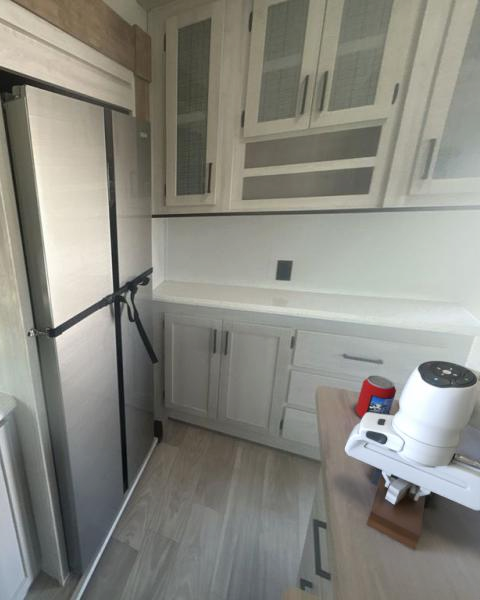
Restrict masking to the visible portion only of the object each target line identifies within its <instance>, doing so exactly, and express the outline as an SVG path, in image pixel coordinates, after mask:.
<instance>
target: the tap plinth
mask: <svg viewBox="0 0 480 600" xmlns="http://www.w3.org/2000/svg"><path fill="white" fill-rule="evenodd" d="M385 483H386V480H385V478H384V477H382V476H380V478H379V481H378V484H377V485H376V487H375V490H374V494H373V498H372V502H371V506H370V508H369V509H370V510H369V512H368V513H369V514H368V518H367V521H366V525H367V526H369V527H370V528H372V529H374V530H376V531H378V532H380V533H381V534H384V535H386V536H387V537H389V538H392V539H393V540H395V541H397V542H398V543H401V544H402V545H404V546H406V547H408V548H409V549H412V550H414V551H415V550H416V548H417V545H418V543H419V541H420V538H421V535H422V526H423V518H424V510H425V507H424V502H425V495H424V496H419V498H418V501H415V500H413V499H411V498H409V497H407V495H408V494H407V495H406V496H405V497H403V498H402V499H401V500H400V501H399V502H397V503H396V504H395V505H394V504H392V503H391V502H390V501H388V500H387V499H385V497H386V494H387V492H388V489H389V488H387V487H385Z"/></svg>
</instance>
